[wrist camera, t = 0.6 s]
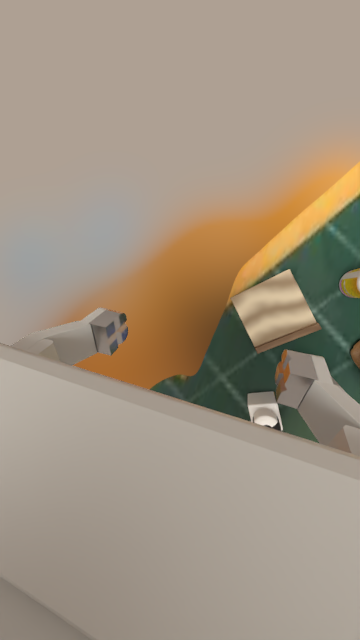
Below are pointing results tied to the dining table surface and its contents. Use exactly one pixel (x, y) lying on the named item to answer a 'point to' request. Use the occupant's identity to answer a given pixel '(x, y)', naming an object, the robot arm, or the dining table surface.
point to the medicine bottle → (264, 410)
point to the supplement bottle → (351, 284)
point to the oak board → (275, 312)
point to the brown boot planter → (356, 354)
